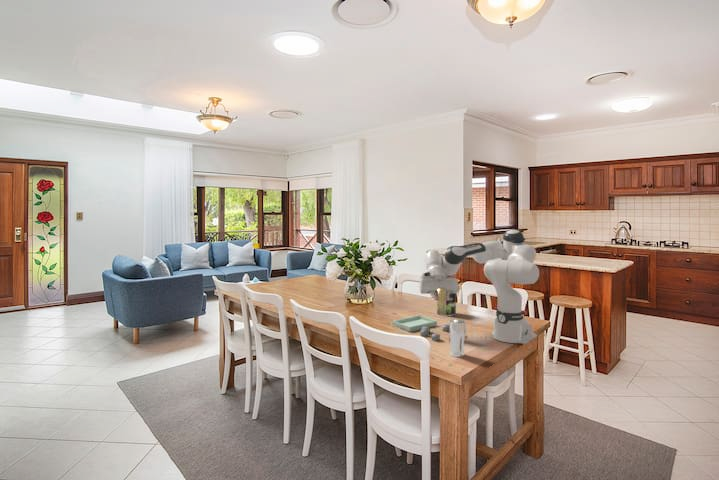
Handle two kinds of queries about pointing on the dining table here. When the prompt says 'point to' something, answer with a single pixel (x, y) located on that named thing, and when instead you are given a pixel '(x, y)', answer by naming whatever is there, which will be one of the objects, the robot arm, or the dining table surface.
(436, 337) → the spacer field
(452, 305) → the coffee can
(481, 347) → the dining table surface
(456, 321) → the beer glass
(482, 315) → the dining table surface
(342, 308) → the dining table surface
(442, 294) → the gold metal cylinder
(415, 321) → the tray
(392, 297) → the dining table surface
